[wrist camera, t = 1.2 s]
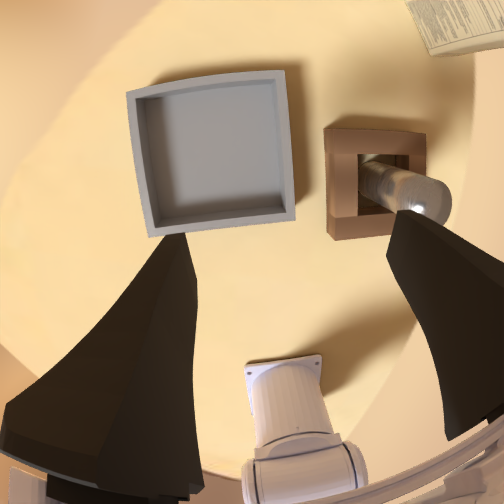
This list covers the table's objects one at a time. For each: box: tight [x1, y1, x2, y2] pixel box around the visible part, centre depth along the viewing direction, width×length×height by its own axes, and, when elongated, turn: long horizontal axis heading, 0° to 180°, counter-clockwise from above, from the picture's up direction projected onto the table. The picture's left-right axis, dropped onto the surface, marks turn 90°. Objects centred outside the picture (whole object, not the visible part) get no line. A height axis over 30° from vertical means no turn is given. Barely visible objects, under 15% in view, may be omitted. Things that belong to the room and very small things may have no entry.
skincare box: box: [405, 0, 504, 56], centre depth 9 cm, size 6×4×12 cm
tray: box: [126, 70, 296, 238], centre depth 18 cm, size 10×10×2 cm
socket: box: [323, 129, 426, 241], centre depth 20 cm, size 8×8×2 cm
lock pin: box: [358, 161, 452, 226], centre depth 17 cm, size 3×3×8 cm
